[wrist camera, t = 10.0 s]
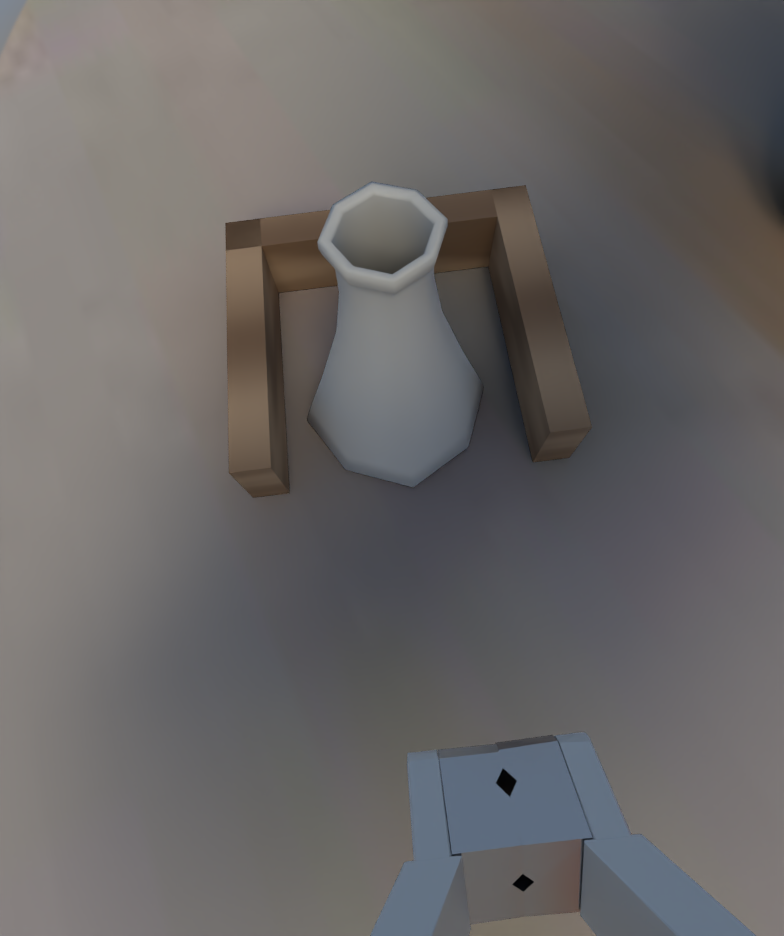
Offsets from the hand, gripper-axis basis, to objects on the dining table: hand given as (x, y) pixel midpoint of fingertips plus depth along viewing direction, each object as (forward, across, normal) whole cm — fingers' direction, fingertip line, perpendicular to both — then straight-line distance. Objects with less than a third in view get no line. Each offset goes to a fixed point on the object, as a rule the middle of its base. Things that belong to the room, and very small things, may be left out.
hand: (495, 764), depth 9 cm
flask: (+16, +1, -1) cm, 16 cm away
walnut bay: (+17, +1, -2) cm, 17 cm away
